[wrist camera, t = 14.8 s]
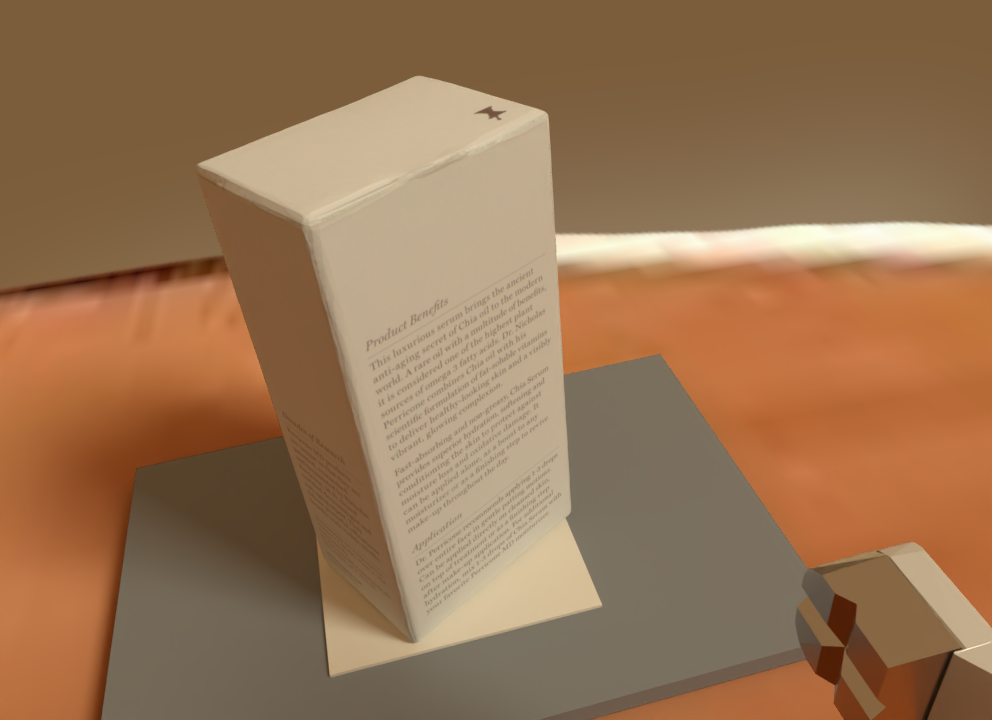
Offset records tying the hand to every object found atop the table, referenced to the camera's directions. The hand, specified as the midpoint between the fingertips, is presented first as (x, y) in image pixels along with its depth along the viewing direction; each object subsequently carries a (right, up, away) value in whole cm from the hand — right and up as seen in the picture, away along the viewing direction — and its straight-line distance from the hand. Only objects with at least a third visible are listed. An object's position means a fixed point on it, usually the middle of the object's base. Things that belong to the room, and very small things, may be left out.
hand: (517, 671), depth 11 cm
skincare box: (-2, -1, +13) cm, 13 cm away
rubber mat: (-2, -2, +13) cm, 14 cm away
